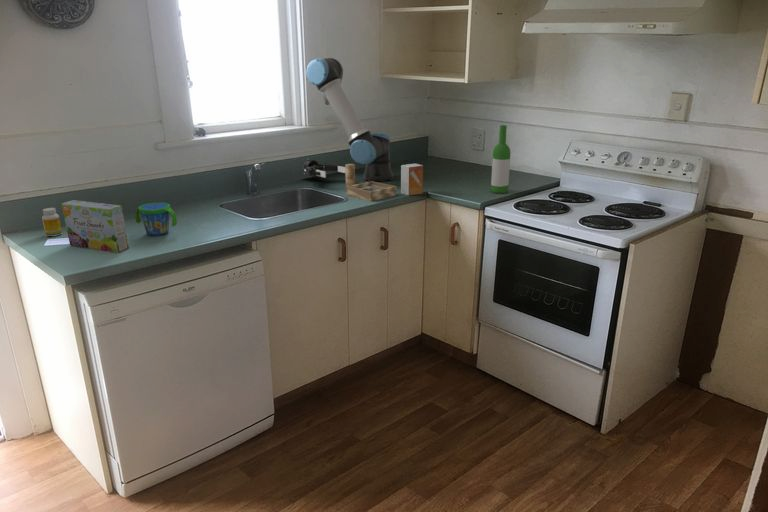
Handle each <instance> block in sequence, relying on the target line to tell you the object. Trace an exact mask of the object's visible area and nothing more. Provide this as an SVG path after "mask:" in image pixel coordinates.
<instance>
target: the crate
mask: <svg viewBox="0 0 768 512" xmlns="http://www.w3.org/2000/svg"><path fill="white" fill-rule="evenodd" d="M345 191H346V193H345V194H346V196H348V197H352V198H356V199H360V200H363V201H369V202H374V201H377V200H381V199H382V200H383V199H386V198H389V197H394V196H397V185H392V184H386V183H382V182H373V181H365V182H361V183H357V184H356V183H355V185H351V186H346V185H345Z"/></svg>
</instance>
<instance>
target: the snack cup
mask: <svg viewBox="0 0 768 512" xmlns="http://www.w3.org/2000/svg"><path fill="white" fill-rule="evenodd" d="M134 216H135V222H136V223H137V224H141V223H143V227H144V229H145V232H146V234H147V235H148V236H164V235H167V234H168V232H169V230H170V217H172V219H171V220H172V222H171V224H172V225H171V226H172V227H175V226H177V224H178V220H177V219H178V218H177V216H176V213H175V212H174V210H173V208H171V204H169V203H166V202H150V203H144V204H142V205H140V206H138V207H137V208H136V210H135V215H134ZM163 234H164V235H163Z"/></svg>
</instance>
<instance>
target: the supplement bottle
mask: <svg viewBox="0 0 768 512" xmlns="http://www.w3.org/2000/svg"><path fill="white" fill-rule="evenodd" d="M42 214H43V215H42V216H41V219H42V225H43V230H44V235H45V237H47V236H55V235H59V234H61V233H62V234H63V230H62V225H61V219H60V216H59V214H58V213H57V210H56V208H55V207H47V208H43V209H42ZM62 234H61V235H62Z"/></svg>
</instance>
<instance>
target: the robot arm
mask: <svg viewBox="0 0 768 512" xmlns="http://www.w3.org/2000/svg"><path fill="white" fill-rule="evenodd" d="M305 72H306V73H305V75H306V78H307V80H308V82H309V83H311V84H312V85H314V86H315V87H316V88H317V89H318V93H319V92H321V93H323V98H324V101H325V104H326V105H329V104H330V106H331V108H332V111H333V112H334V113H335V115H336V118H337V119H338V121H339V122H340V125H341V126H342V129H343V130H344V132H345V134H346V135H347V137H348V142H347V143H348V145H349V149H350V150H349V152H350V156H351V158H352V160H353V161H355V163H357V164H359V165H365V170H364V173H363V180H364V179H365V180H364V181H366V180H368V181H367V182H370V181H383V182H387V181H386V180H390V181H392V180H394V173H393V171H392V167H391V159H390V158H391V156H390V155H391V150H390V149H391V147H390V145H391V140H390V139H391V138H390V134H388V133H383V132H382V133H381V132H380V133H379V132H371V131H370V130H369V129H366V128H365V127H364V125H363V123H362V122H361V120H360V118H359V116H358V114H357V113H356V111H355V109H354V107H353V105H352V104H351V102H350V100H349V98H348V97H347V94H346V93H345V90H344V89H343V88H342V85H341V84H342V80H343V77H344V76H343V75H344V68H343V65H342V63H341V62H340V61H339V60H338V59H335V58H332V57H328V58H327V57H325V58H322V57H317V58H314V59H312V60H311V61H310V62H309V63H308V64H307V67H306V71H305ZM307 159H308V160H307V161H306V162H305V163H304V166H303V169H304V172H305V173H306V175H308V176H310V177H312V178H316V176H317V177H320V178H325V179H326V178H327V172H338V173H343V174H345V166H343V165H342V164H340V163H339V164H333V163H332V164H329V163H323V164H321V163H319V162H318V161H317V160H315V159H311V158H307ZM305 173H304V174H305ZM391 179H392V180H391Z"/></svg>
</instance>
